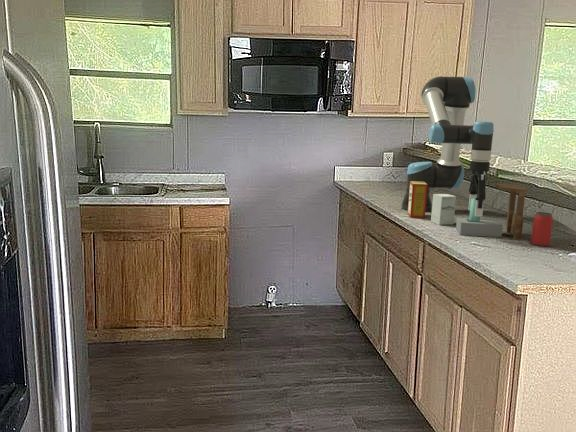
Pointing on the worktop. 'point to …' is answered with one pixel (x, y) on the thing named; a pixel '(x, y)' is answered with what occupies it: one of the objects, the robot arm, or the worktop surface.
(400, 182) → the worktop surface
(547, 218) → the beer can
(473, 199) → the peg
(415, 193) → the baking soda box
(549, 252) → the worktop surface
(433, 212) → the supplement box
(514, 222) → the wooden t-shaped stand
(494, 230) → the socket
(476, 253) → the worktop surface
